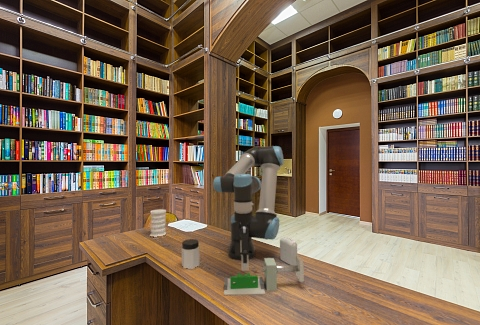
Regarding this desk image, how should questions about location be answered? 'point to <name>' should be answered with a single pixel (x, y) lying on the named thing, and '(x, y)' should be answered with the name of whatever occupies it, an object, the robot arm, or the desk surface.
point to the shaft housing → (270, 274)
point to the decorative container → (158, 222)
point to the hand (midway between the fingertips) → (244, 262)
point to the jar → (190, 253)
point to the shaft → (292, 268)
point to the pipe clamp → (243, 281)
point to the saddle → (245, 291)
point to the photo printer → (288, 250)
